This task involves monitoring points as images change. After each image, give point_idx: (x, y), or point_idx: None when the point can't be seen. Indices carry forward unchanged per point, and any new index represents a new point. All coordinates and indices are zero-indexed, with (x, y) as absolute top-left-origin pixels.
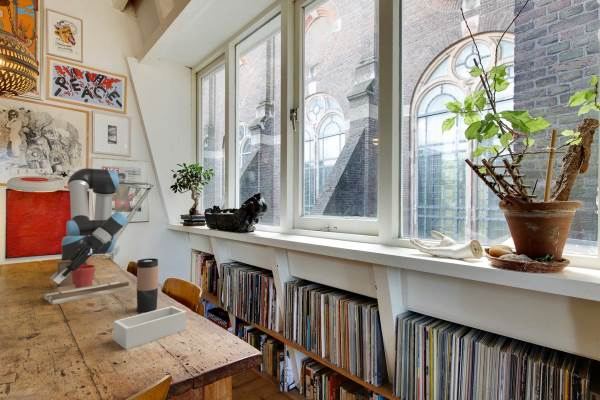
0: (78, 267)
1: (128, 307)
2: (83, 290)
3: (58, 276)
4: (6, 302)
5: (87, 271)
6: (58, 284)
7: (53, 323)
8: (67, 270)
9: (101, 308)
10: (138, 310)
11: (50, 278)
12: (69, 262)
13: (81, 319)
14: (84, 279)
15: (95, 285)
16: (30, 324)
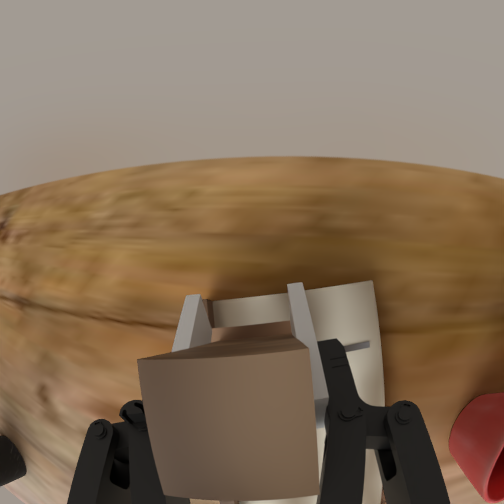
0: (112, 474)
1: (37, 451)
2: None
3: (179, 330)
4: (381, 162)
5: (477, 477)
6: (257, 337)
7: (24, 272)
8: (142, 400)
9: (56, 410)
10: (2, 436)
11: (287, 287)
12: (160, 460)
13: (12, 332)
14: (463, 450)
15: (370, 491)
16: (51, 225)
